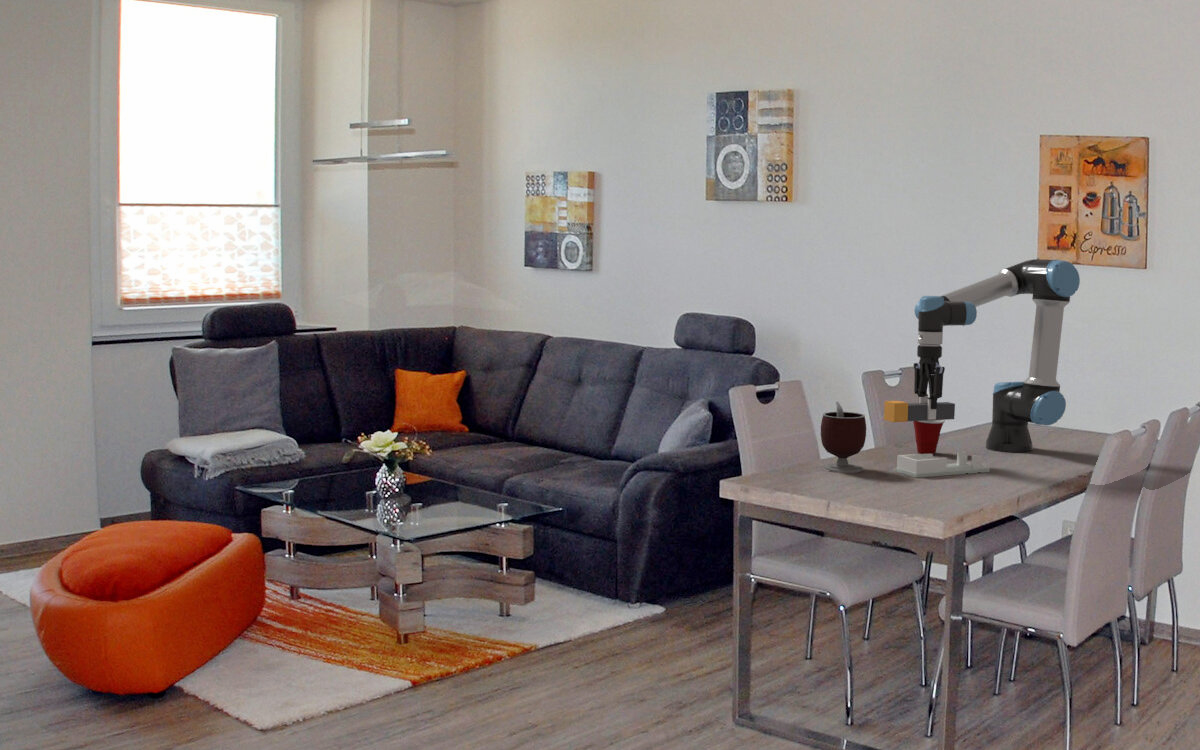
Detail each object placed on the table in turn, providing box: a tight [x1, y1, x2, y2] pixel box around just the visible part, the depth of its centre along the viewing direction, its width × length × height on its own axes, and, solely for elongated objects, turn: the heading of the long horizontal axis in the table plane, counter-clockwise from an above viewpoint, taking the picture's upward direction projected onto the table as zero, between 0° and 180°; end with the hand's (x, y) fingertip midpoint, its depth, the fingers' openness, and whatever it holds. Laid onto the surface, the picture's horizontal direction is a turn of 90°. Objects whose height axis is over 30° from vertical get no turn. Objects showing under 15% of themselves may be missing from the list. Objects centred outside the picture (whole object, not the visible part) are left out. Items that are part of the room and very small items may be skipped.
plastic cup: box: [912, 420, 946, 455], centre depth 419 cm, size 11×11×12 cm
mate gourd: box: [820, 401, 867, 474], centre depth 390 cm, size 16×14×20 cm
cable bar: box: [883, 400, 956, 423], centre depth 398 cm, size 23×6×6 cm, turn 110°
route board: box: [894, 450, 991, 478], centre depth 388 cm, size 27×11×5 cm, turn 111°
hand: (927, 418), depth 399 cm, fingers closed on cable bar, 4 cm apart
